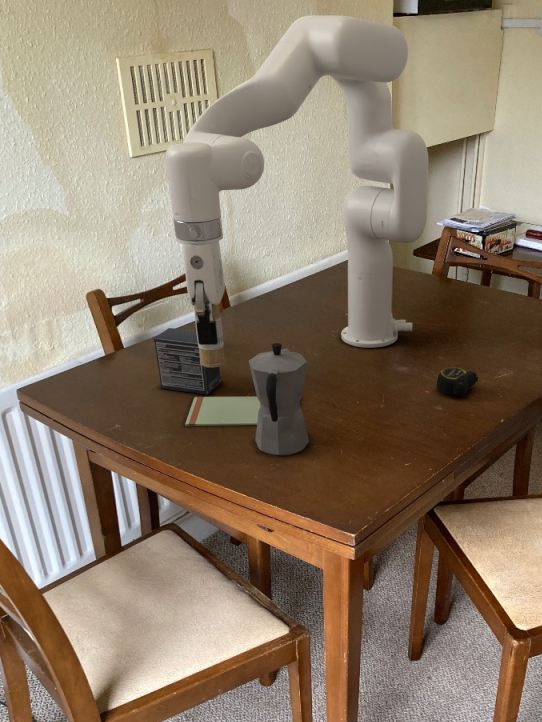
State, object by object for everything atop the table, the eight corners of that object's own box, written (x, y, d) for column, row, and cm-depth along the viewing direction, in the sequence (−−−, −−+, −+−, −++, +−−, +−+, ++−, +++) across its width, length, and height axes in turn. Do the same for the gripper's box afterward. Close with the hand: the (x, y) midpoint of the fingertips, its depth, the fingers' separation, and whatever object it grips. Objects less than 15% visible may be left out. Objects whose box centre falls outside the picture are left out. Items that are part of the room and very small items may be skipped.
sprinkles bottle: (216, 356, 138) (209, 281, 130) (230, 364, 135) (223, 288, 127) (194, 363, 135) (185, 287, 128) (208, 371, 132) (199, 294, 125)
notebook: (299, 397, 147) (299, 395, 146) (296, 424, 137) (296, 422, 137) (194, 398, 147) (194, 396, 146) (185, 426, 138) (185, 423, 137)
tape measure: (462, 402, 144) (463, 383, 142) (429, 393, 147) (430, 375, 145) (477, 388, 149) (479, 370, 147) (445, 380, 152) (447, 363, 150)
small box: (223, 382, 153) (218, 331, 147) (208, 396, 148) (202, 344, 142) (176, 375, 156) (169, 325, 150) (159, 388, 151) (151, 337, 145)
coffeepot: (260, 424, 138) (253, 327, 128) (313, 425, 137) (309, 328, 127) (246, 468, 125) (237, 365, 115) (304, 470, 124) (300, 366, 114)
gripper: (215, 243, 115) (226, 357, 126) (228, 215, 129) (237, 320, 139) (165, 243, 115) (180, 358, 126) (183, 216, 129) (196, 321, 139)
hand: (210, 337), depth 132 cm, fingers closed on sprinkles bottle, 4 cm apart
